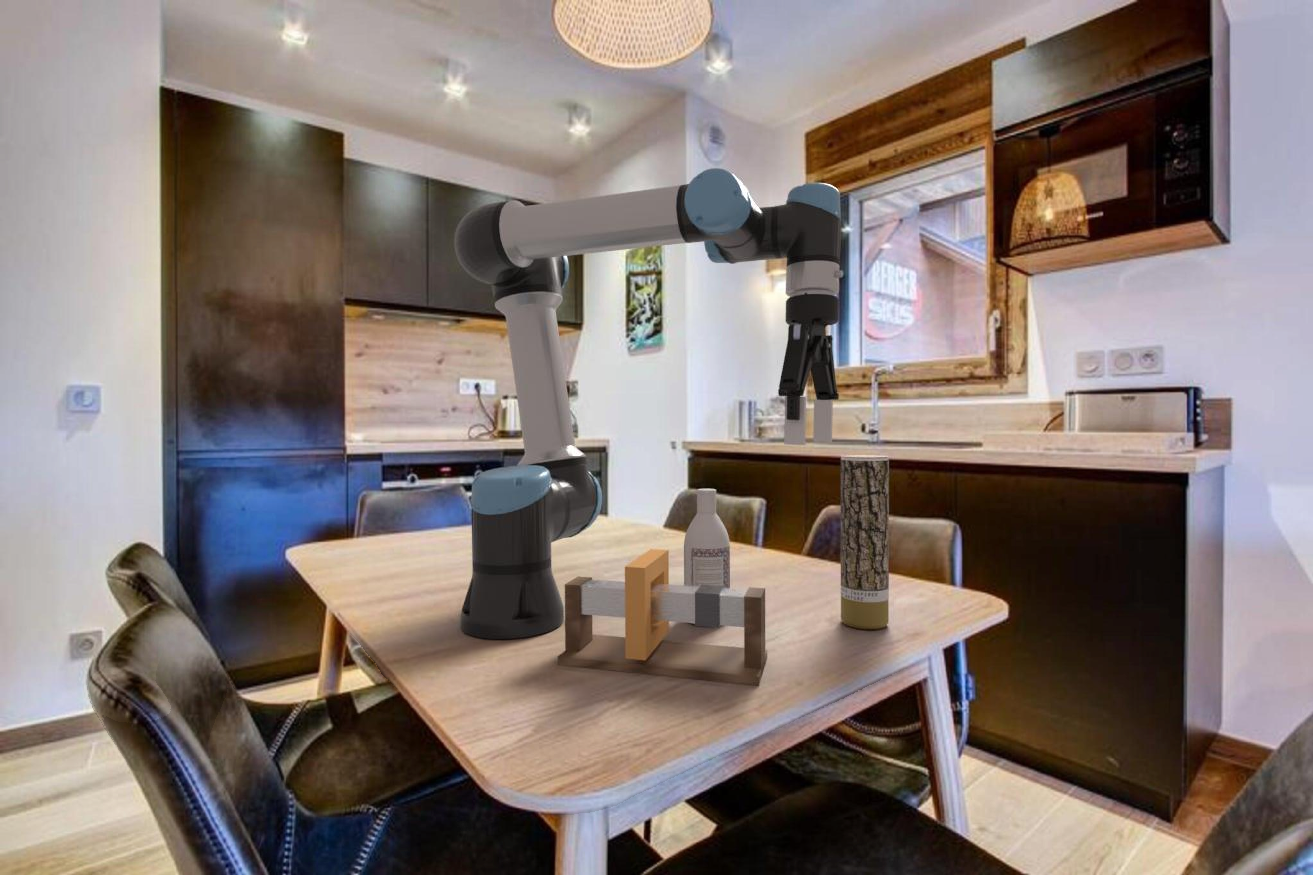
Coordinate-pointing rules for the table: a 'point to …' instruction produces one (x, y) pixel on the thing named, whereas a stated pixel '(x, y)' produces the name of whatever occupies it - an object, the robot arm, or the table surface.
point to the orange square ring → (644, 603)
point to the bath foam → (706, 545)
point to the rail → (669, 603)
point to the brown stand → (668, 646)
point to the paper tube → (865, 541)
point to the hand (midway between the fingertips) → (809, 443)
